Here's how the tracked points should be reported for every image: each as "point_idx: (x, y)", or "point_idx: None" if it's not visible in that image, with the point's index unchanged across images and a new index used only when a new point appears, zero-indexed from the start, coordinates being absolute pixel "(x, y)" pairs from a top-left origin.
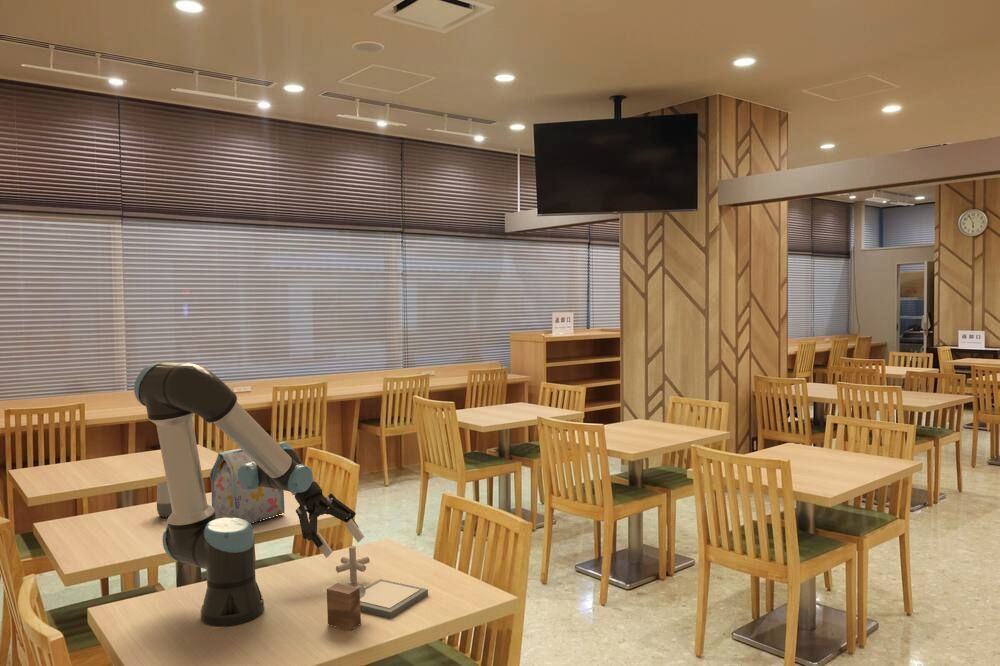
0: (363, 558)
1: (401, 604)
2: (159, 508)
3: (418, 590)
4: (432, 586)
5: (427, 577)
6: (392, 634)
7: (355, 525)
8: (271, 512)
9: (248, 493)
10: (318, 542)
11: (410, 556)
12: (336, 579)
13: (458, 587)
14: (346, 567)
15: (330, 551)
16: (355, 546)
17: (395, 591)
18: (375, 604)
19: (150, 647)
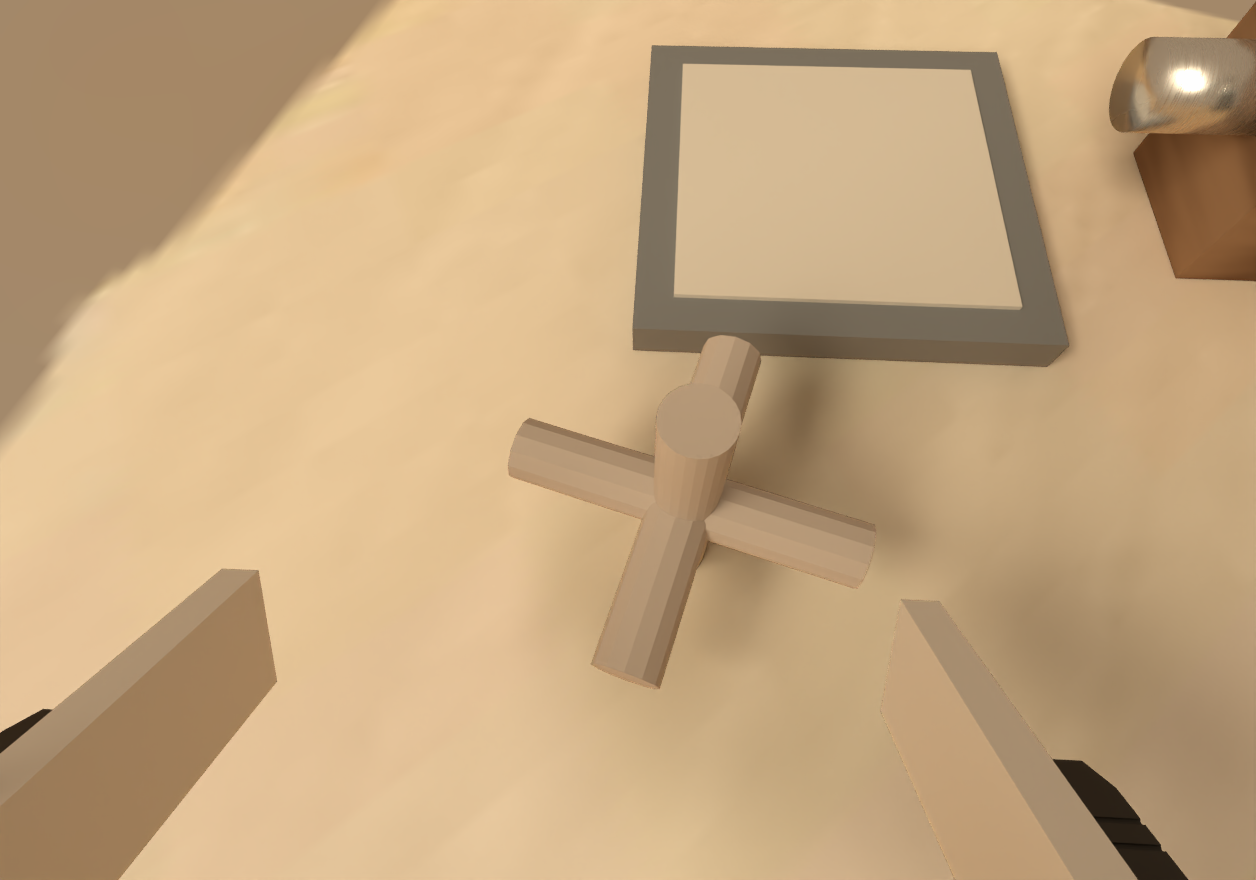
0: (571, 445)
1: (890, 55)
2: None
3: (697, 64)
4: (539, 104)
5: (423, 179)
6: (1100, 7)
7: (74, 714)
8: None
9: None
10: (1133, 811)
11: (45, 460)
12: (691, 731)
13: (506, 12)
14: (788, 499)
15: (945, 610)
16: (665, 397)
17: (772, 146)
18: (983, 143)
19: None
